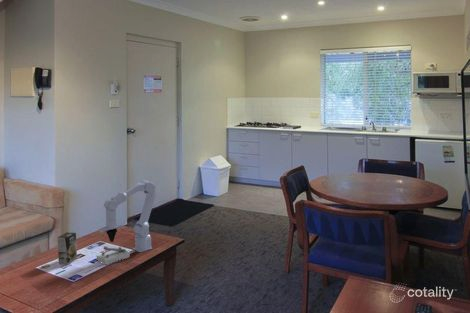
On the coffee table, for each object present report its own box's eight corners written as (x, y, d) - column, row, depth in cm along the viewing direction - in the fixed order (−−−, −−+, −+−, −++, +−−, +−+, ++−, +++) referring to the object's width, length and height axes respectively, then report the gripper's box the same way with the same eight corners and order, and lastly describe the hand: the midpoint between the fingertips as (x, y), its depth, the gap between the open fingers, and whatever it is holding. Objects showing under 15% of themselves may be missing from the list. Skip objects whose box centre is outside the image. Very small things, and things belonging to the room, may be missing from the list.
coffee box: (68, 264, 227) (66, 237, 224) (58, 263, 228) (56, 237, 226) (77, 258, 236) (76, 232, 233) (68, 257, 237) (66, 231, 235)
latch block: (120, 252, 245) (120, 245, 245) (129, 257, 239) (129, 249, 238) (96, 260, 234) (96, 252, 233) (105, 265, 227) (105, 257, 226)
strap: (121, 250, 241) (121, 247, 242) (123, 251, 239) (124, 249, 240) (103, 248, 232) (104, 246, 232) (106, 250, 230) (106, 247, 230)
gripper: (118, 215, 243) (118, 236, 245) (96, 220, 232) (97, 242, 234) (124, 217, 238) (125, 239, 240) (102, 223, 227) (103, 245, 229)
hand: (111, 241), depth 237 cm, fingers closed
